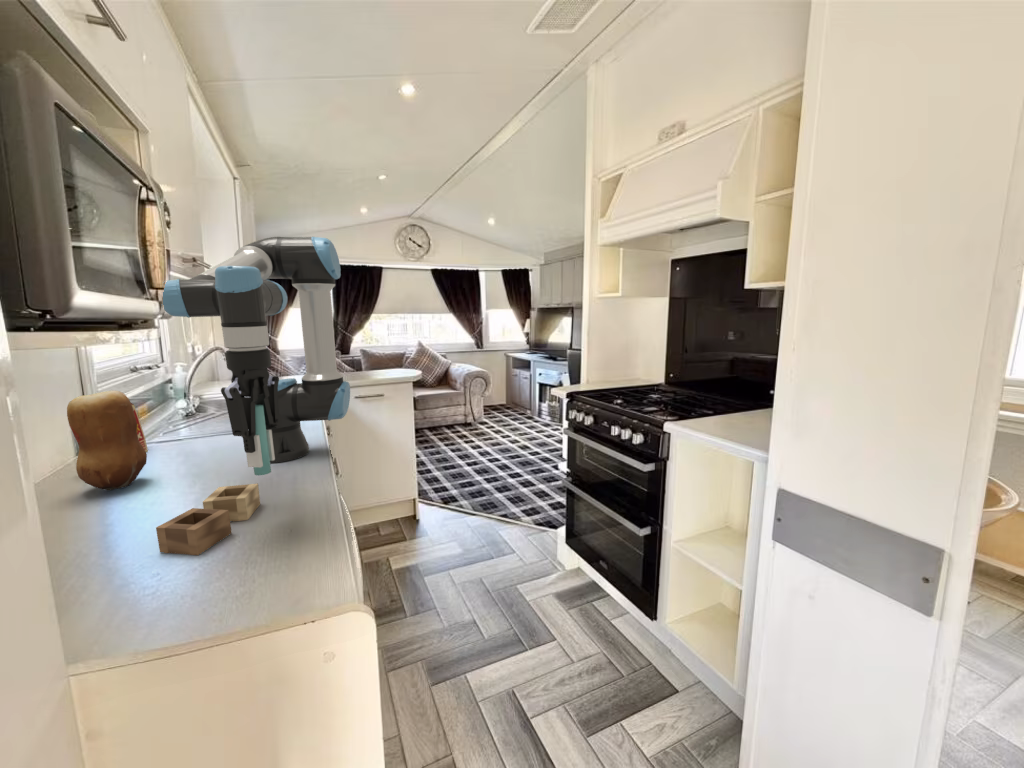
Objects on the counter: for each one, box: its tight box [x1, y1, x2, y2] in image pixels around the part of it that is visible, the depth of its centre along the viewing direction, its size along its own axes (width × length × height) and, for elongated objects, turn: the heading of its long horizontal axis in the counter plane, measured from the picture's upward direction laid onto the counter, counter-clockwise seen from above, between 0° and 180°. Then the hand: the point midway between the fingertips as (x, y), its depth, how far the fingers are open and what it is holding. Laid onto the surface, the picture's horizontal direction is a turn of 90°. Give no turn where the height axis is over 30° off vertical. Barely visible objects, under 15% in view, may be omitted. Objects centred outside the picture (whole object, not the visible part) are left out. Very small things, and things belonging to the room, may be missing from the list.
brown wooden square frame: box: [155, 507, 233, 556], centre depth 84 cm, size 8×8×5 cm
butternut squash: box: [66, 390, 148, 492], centre depth 110 cm, size 14×13×25 cm
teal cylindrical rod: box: [253, 405, 272, 476], centre depth 89 cm, size 3×3×14 cm
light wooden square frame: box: [202, 483, 261, 522], centre depth 96 cm, size 8×8×5 cm
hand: (261, 462), depth 90 cm, fingers closed on teal cylindrical rod, 3 cm apart
